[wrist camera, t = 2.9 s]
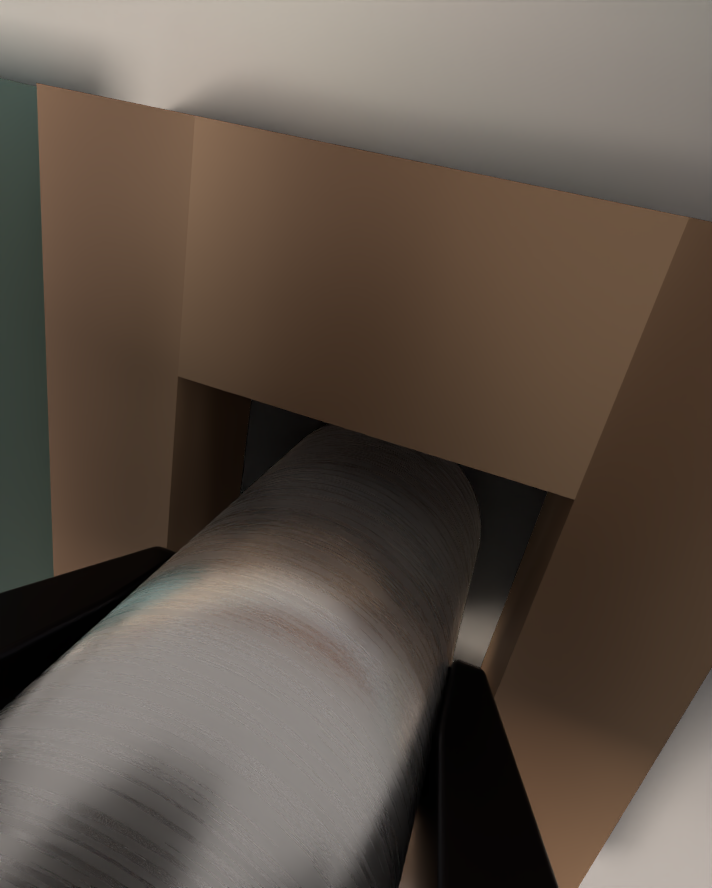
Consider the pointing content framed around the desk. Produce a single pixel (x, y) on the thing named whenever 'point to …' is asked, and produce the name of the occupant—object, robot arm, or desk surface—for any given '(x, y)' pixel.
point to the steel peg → (255, 690)
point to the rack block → (22, 349)
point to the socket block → (400, 393)
